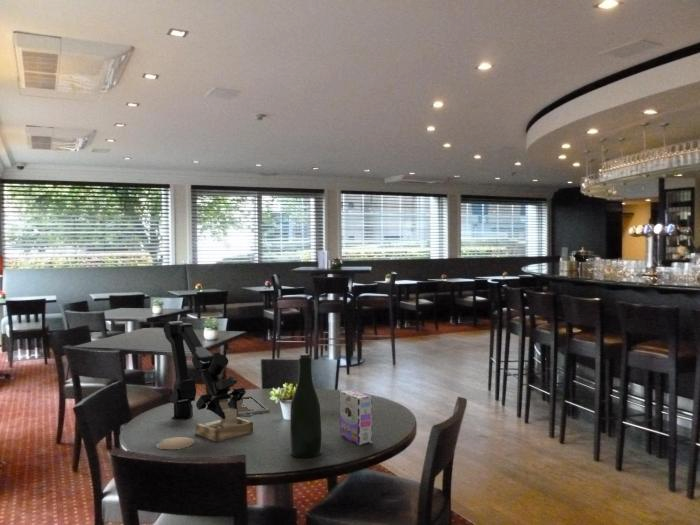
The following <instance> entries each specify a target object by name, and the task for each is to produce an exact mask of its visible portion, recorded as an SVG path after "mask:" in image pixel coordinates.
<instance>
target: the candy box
mask: <svg viewBox="0 0 700 525" xmlns="http://www.w3.org/2000/svg"><path fill="white" fill-rule="evenodd" d="M339 433H340V434H339V436H341V437H343V438H344V439H346V440H348V441H350V442H352V443H354V444H356V445H358V446H361V445H362V446H363V445H367V444H372V443H373V397H372V396H371V395H368V394H366V393H362V392H361V391H357V390H355V389H352V388H351V389H345V390H344V389H343V390H339Z"/></svg>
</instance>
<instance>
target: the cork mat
mask: <svg viewBox="0 0 700 525" xmlns="http://www.w3.org/2000/svg"><path fill="white" fill-rule="evenodd" d="M169 438H170V439H169ZM169 438H165V439H162V440H163V441H164V442H162V443H161V444H160V445H161V446H159V447H158V448H160V449H159V450H161V449H178V450H181V449H180V448H183V449H186V448H185V447H187V448H189V446H190V447H191V445H192V444H193V443H194V444H195V440H194V439H193V438H190V437H186V436H185V437H184V436H183V437H182V436H177V437H169ZM169 442H170V443H169ZM194 444H193V445H194ZM193 445H192V446H193ZM158 448H157V449H158Z"/></svg>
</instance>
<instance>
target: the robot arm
mask: <svg viewBox="0 0 700 525" xmlns="http://www.w3.org/2000/svg"><path fill="white" fill-rule="evenodd" d="M163 333H164V336H165V338H166V340H167V341H168V342H169V343H170V346H171V352H172V358H173V359H172V360H173V365H174V370H175V371H174V372H175V382H174V384H173V391H172V393H171V395H170V397H169V401H170V404H173V416H172V418H171V419H172V420H175V419H176V420H177V419H179V420H181V419H182V420H183V419H184V420H188V419H189V418H191V417H192V416H193V415H194V412H193V411H194V409H193V408H194V406H193V404H192V402H195V401H196V396H197V387H196V381H195V379H194V378H191V377H190V375H189V369H188V362H187V357H186V350H185V346H184V342H185V344H186V346H187V348H188V350H189V352H190V354H191V355H192V358H191V362H192V364H193V365H192V366H193V367H194V369H195V370H196V371H203V372H201V374H200V377H199V380H200V381H204V383H205V385H206V388H207V389H206V393H205V394H201V395H200V397H199V398H198V399H197V401H196V404H195V406H196V409H197V410H201V411H202V410H205V409H206V411H211V412H212V413H214V414H215V415H217V416H218V417H220V419H221V418H222V419H225V415H224V412H223V410H222V408H221V406H220V404H219V401H221V400H225V399H227V400H228V401H229V403H228V404H227V405H228V406H229V408H234V409H237V401H240V400H241V399H242V397H243V396H246V394H247V391H246V388H244V387H243V386H240V387H236V388H234V389H233V390H232V391H231V388H232V387H234V386H235V385H236V384H237V383H238V381H237V378H236V376H235V375H230V376H229V377H228V378H223V379H222V378H221V377H220V375H221V374H222V373H223V372H224V370H225V369H226V367H227V365H228V364H229V359H228V357H226V356H225V355H224V354H221V353H220V352H219V351H217V352H216V351H215V352H214V353H213V354H212V353H211V351H209V349H206V348H205V347H204V346H203V344H202V343H201V341H200V338H198V334H196V331H195V330H194V326H193V324H192V323H189V322H183V321H182V320H176V321H175V320H174V321H167V322H166V323H165V324H164V325H163ZM230 391H231V392H230ZM237 415H238V410H237Z"/></svg>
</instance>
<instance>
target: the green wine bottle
mask: <svg viewBox="0 0 700 525" xmlns="http://www.w3.org/2000/svg"><path fill="white" fill-rule="evenodd" d="M299 356H300V357H299V358H298V378H297V379H298V380H297V384H296V388H295V391H294V393H293V396H292V400H291V404H290V412H289V413H290V415H289V416H290V418H289V420H290V422H289V444H290V445H289V452H290V454H291V455H292V457H293V456H294V457H296V458H303V459H304V458H313V457H317V456H319V455H321V453H322V449H323V448H322V445H323V444H322V440H323V439H322V435H323V434H322V408H321V401H320V398H319V395H318V393H317V390H316V387H315V384H314V379H313V370H312V369H313V368H312V364H313V359H312V357H311V354H310V353H301V354H300V355H299Z"/></svg>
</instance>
